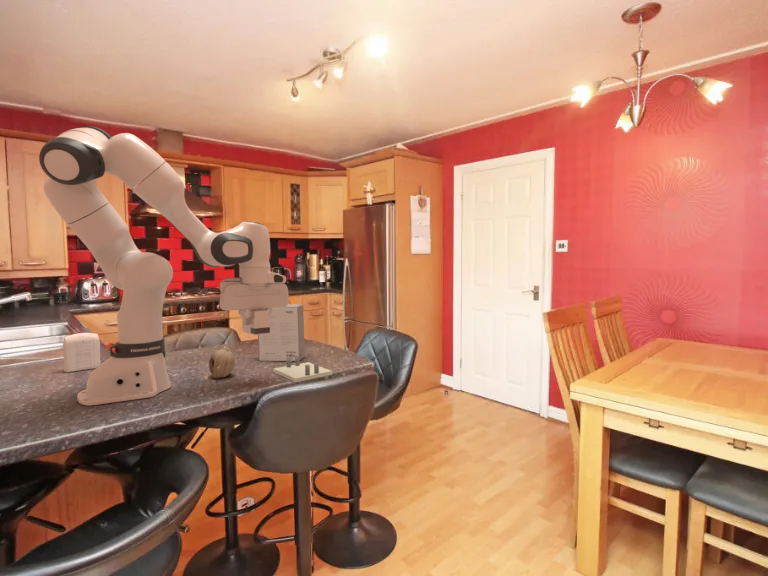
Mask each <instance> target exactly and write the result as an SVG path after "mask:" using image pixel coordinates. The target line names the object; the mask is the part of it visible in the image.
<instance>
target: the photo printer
mask: <svg viewBox="0 0 768 576" xmlns="http://www.w3.org/2000/svg"><path fill="white" fill-rule="evenodd" d="M62 348H63V349H62V350H63V351H62V352H63V354H62V355H63V372H64V373H73V372H80V371H86V370H92V369H93V370H95V369H96V368H97V367H99V366H100V365H101V364H102V363H101V343H100V337H99V334H97V333H93V332H79V333H74V334H70V335H68V336H65V337H64V338H63V341H62Z"/></svg>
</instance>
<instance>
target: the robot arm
mask: <svg viewBox="0 0 768 576" xmlns="http://www.w3.org/2000/svg"><path fill="white" fill-rule="evenodd" d="M38 158H39V159H38V161H39V165H40V167H41V169H42V171H43V172H44V173H45V174H46V176H47V178H46V180H45V182H44V183H43V190H44V194H45V195H46V197H47V199H48V201H49V202H50V204H51V205H52V207H53V208H54V209H55V210H54V211H56V213H58V215H59V216H60V218H61V219H62V220H63V221H64V223H65V224H66V225H67V227H69V228H70V229H71V230H72V232H73V233H74V234H75V235H76V236H77V238H79V240H80V241H81V242H82V243H83V244H84V245H85V246H86V248H87V249H88V251H89V252H90V253H91V255H92V256H93V258H94V259H95V261H96V263H97V264H98V266H99V268H100V269H101V271H102V272H103V273H104V277H105V279H106V280H107V281H108V282H109V283H110V284H111V285H112V286H113V287H115V288H117V289H119V290H121V291H122V298H121V304H120V307H119V310H118V311H117V314H116V320H117V342H115V343H112V342H108V343H107V344H106V345H105V348H106V350H107V351H109V355H110V357H109V358H107V359H106V360H105V361H104V362H102V363H101V365H100V366H99V367H97V368H94V369H93V370H92V371H91V372H90V373H89V375H88V378H87V382H86V389H83V390H81V391H79V392H78V393H77V395H76V396H77V398H76V399H77V402H78V403H79V404H80V405H82V406H83V405H84V406H97V405H103V404H111V403H118V402H124V401H133V400H139V399H145V398H153V397H155V396H156V395H158V394H159V393H161V392H163V391H167V390H168V389H169V388H171V386H172V383H171V381H170V378H169V375H168V372H167V366H166V359H165V358H166V350H167V349H166V341H165V338H164V335H163V334H164V333H163V332H164V330H163V307H164V303H165V297H166V292H167V288H168V286H169V285H170V284H171V282H172V280H173V276H174V269H173V267H172V265H171V263H170V262H169V260H168V259H166V258H165V257H163V256H162V255H160V254H156V253H155V252H147V251H146V252H145V251H144V252H143V251H141V250H139V248H138V246H137V245H136V244H135V242H134V240H133V238H132V235H131V232H130V228H129V225H128V224H127V222H125V220H124V219H123V218H122V217H121V215H120V214H119V213H118V211H117V210H116V209H115V208H114V206H113V205H112V203H111V202H109V200H108V198H106V196H105V195H104V194H103V193H102V192H101V190H100V188H99V186H98V185H97V179H99V178H103V176H104V175H105V174H109V175H113V176H114V177H116V178H118V179H119V180H120V181H122V182H123V184H125V186H127V188H129V189H130V190H131V191H132V192H133V193H134V194H135V195H136V196H138V197H139V198H140V199H141V200H142V201H143V202H144V203H146V204H147V205H149V206H150V207H151V208H153V209H154V210H155V211H157V212H158V213H159V214H160V215H162V216H163V217H164V218H165V219H166V220H167V221H168V222H169V223H170V224H171V225H172V226H173V227H174V228H176V230H177V231H178V232H179V233H180V234H181V235H182V236H183V237H184V238H185V239H186V240H187V241H188V242H189V243H190V245H191V247H192V249H193V250H194V252H195V255H196V257H197V259H198V260H199V262H200V263H202V264H204V265H205V266H207V267H209V268H218V267H232V266H234V265H237V264H238V266H239V271H238V272H239V275H238V276H239V277H225V278H224V279H223V280H220V283H219V292H220V297H219V309H221V310H222V311H227V312H228V311H238V312H237V313H238V315H239V316H240V317H241V319H242V321H241V322H242V326H243V325H249V324H250V322H249V321H250V319H248V318H246V316H245V315H244V313H246V309H259V308H265V309H266V310H269V316H270V314H271V312H272V308H274V307H286V306H287V305H289V303H290V300H289V299H290V296H289V289H288V286H287V284H286V282H287V277H286V275H282V274H279V273H276V272H273V271H271V263H270V255H271V241H270V232H269V230H268V227H267V226H266V225H264V224H262V223H260V222H256V221H248V220H247V221H246V220H245V221H242V222H240V224H238V225H235V226H234V227H232V228H230V229H227V230H224V231H221V232H215V231H212V230H210V229H209V228H208V227H207V226H206V225H205V224H204V223H203V222H202V221H201V220H200V219H199V218H198V217H197V215H195V214H194V212H192V210H191V209H190V208H189V206H188V204H187V202H186V197H185V185H184V182H183V180H182V179H181V177H180V175H178V173H177V172H176V171H175V169H174V168H173V167H172V166H171V165H170V164H169V163H168V162H167V161H166V159H164V158H163V157H162V156H161V155H160V154H159V153H158V152H157V151H155V150H154V149H153V148H152V147H151V146H150V145H149V144H147V143H146V142H145V141H143V140H142V139H141V138H139V137H137V136H136V135H134V134H132V133H129V132H124V133H123V132H121V133H118V134H116V135H113V136H111V134H109V133H108V132H106V131H105V130H104V129H102V128H100V127H96V126H92V125H83V126H79V127H75V128H72V129H69V130H66V131H63V132H61V133H60V134H59V135H58V136H56V137H53V138H51V139H49V140H48V141H47V142H46V143H44V145H43V146H42V148H41V149H40V151H39V154H38Z"/></svg>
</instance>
